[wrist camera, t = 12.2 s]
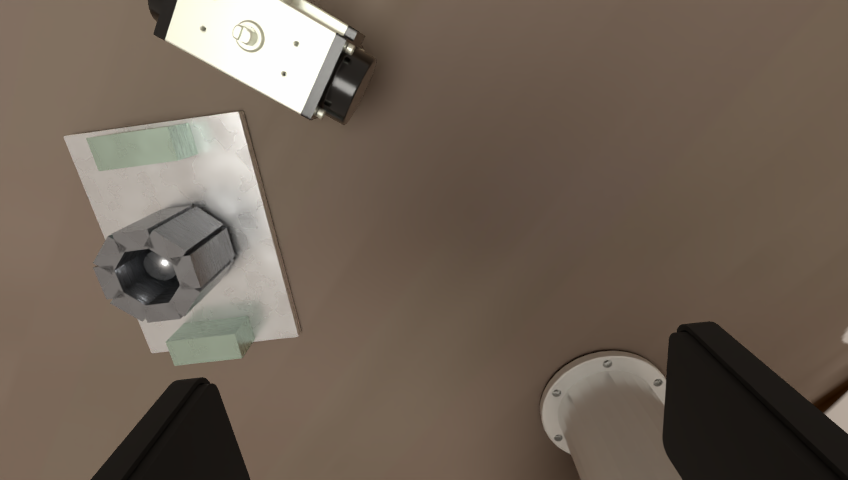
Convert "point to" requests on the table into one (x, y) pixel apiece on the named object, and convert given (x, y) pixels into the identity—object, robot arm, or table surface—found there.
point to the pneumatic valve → (274, 50)
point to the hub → (176, 242)
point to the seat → (214, 194)
